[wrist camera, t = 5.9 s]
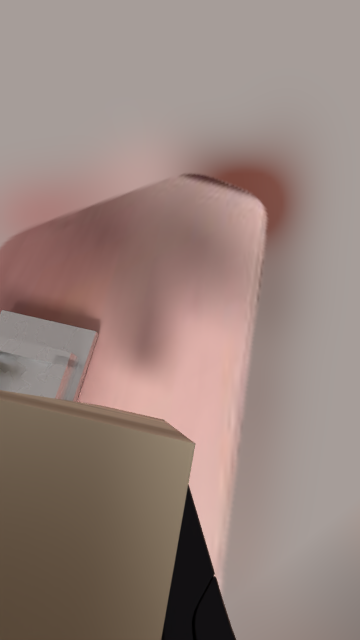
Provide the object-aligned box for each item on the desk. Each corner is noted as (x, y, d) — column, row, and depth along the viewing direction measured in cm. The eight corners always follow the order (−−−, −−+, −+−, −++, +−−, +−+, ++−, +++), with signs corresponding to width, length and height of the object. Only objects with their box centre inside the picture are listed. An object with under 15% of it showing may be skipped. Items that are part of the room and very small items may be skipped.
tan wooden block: (143, 513, 13) (11, 1486, 1) (75, 498, 13) (-747, 1345, 1) (163, 419, 15) (195, 443, 3) (102, 405, 15) (-137, 368, 3)
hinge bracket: (35, 524, 18) (-6, 561, 14) (-78, 499, 18) (-159, 528, 14) (98, 334, 23) (83, 314, 19) (8, 314, 23) (-30, 288, 18)
